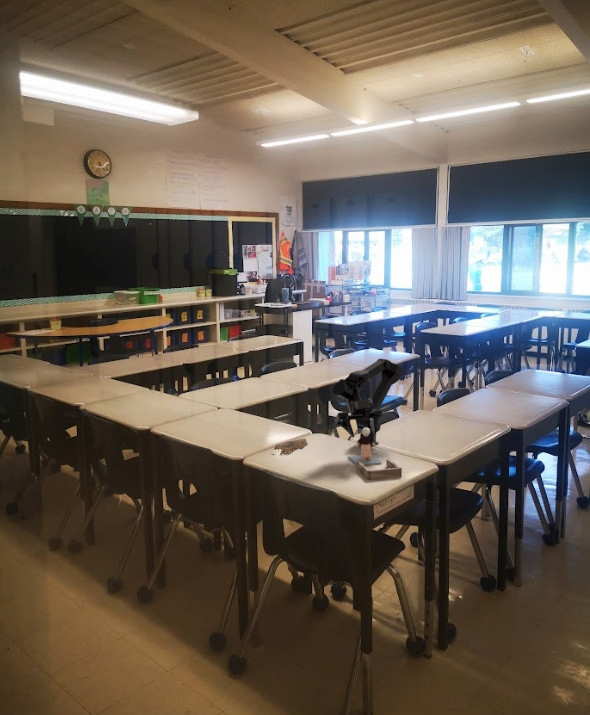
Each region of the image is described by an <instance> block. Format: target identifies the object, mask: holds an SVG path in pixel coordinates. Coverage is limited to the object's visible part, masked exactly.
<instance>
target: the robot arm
mask: <svg viewBox="0 0 590 715" xmlns="http://www.w3.org/2000/svg"><path fill="white" fill-rule="evenodd" d="M380 373H381V374H380ZM379 374H380V376H381V377H380V378H381V380H380V382H379V384H378V385H377V387H376V389H375V391H374V393H373V395H372V396H371V397H368V398H366V399H362V397H361V394H362V392H361V391H360V390H359V389H363V388H366V387H367V386H368V384H370V380H371V379H372V378H374V377H376V376H377V375H379ZM403 374H404V370H403V368H402V366H401V365H399V364H396V363H394V362H391V361H390V360H389V359H386V358H378V359H377V360H376V361H374V362H373V363H372V364H369V365H368V366H366V367H365V368H364V369H360V370H355V371H352V372H350V373H349V374H348V376H347V377H346V378H345V379H341V378H340V379H339V381H338V382H336V383H335V384H334V385H333V387H332V393H333V395H335V396H337V397H339V398H341V399H343V400H346V402H347V406H348V407H347V410H348V411H349V412H350V414H349V412H347V411H340V412H338V413H337V414H336V417H335V419H334V422H335V426H339V427H340V428H342V429H344V430H345V431H346V432H347V433H348V434H349V435H350V436H351V438H352V439H353V438H355V434H354V429H353V426H352V424H351V421H352V420H353V421H354V420H355V423H356V427H357V429H359V430H360V433H359V439H360V438H361V437H364V436H363V434H362V432H361V431H362V429H363V428H369V430H370V434H369V436H368V437H371V438H372V439H373V441H374V443H375V445H376V446H377V445H378V444H379V442H378V441H377V433H378V432H379V431H380V430H381V424H380V421H381V419H382V417H383V416H384V412H383V411H382V410H381V409H380V408H381V406H382V405H383V402H384V401H385V399H386V397H387V395H388V393H389V391H390V389H391V387H392V386H393V385H394V384H395V383H397V382H399V380H400V379H401V377H402V376H403ZM359 445H362V443H360V444H359ZM370 446H371V447H372V446H373V444H372V443H371V442H370Z"/></svg>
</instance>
